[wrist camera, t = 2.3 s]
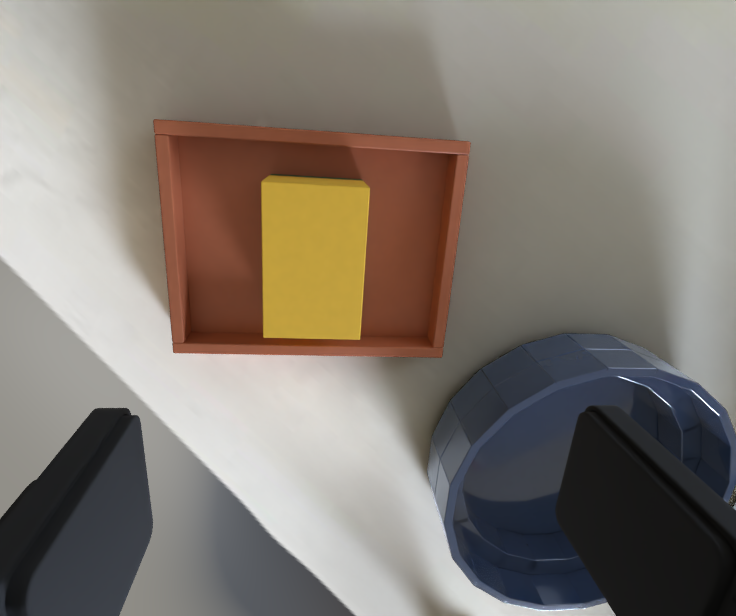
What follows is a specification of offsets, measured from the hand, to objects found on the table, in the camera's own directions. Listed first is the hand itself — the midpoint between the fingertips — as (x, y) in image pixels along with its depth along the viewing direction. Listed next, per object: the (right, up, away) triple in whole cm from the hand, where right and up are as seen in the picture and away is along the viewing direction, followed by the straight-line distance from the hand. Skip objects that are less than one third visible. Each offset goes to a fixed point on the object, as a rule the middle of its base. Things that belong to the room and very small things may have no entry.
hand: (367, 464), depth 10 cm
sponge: (-3, +7, +14) cm, 16 cm away
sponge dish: (-3, +7, +15) cm, 16 cm away
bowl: (+12, -6, +21) cm, 25 cm away
